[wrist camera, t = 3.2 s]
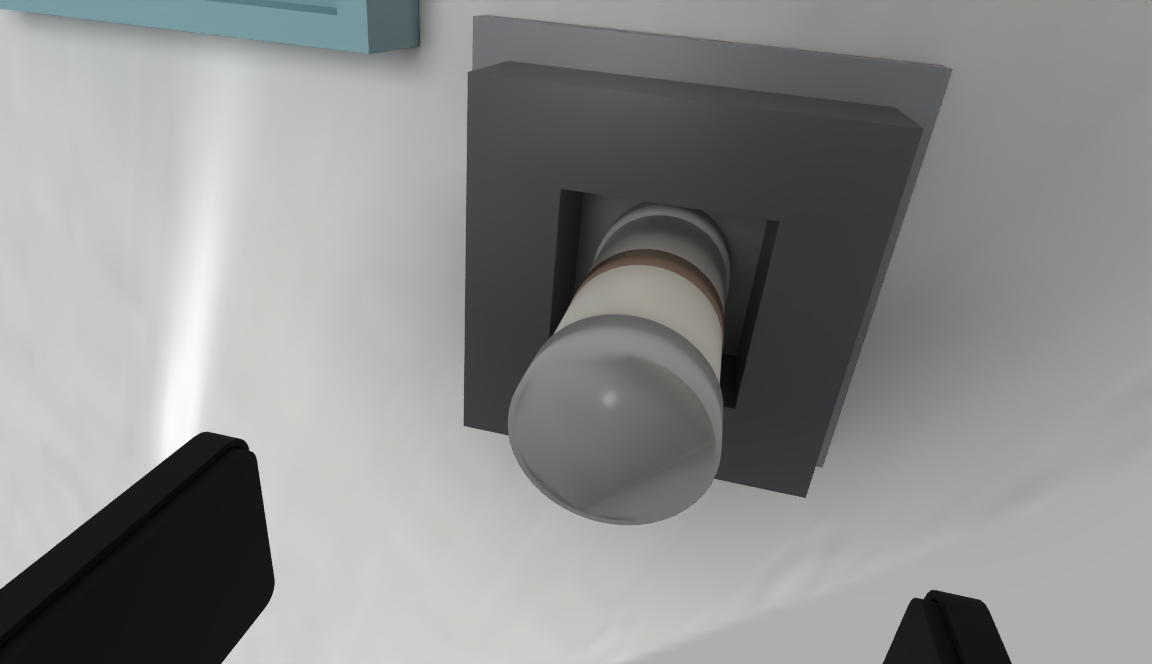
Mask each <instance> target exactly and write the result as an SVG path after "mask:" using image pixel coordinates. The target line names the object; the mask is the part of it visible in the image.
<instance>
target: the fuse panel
mask: <svg viewBox="0 0 1152 664" xmlns="http://www.w3.org/2000/svg"><path fill="white" fill-rule="evenodd" d="M951 72H952V69H950V68H948V67H945V66H942V65H934V64H925V63H916V62H907V61H897V60H888V59H879V58H870V57H861V56H852V55H843V54H834V53H825V52H816V51H807V50H797V49H788V48H779V47H770V46H761V45H752V44H743V43H734V42H725V41H716V40H707V39H697V38H688V37H679V36H670V35H661V34H652V33H643V32H634V31H625V30H616V29H607V28H597V27H588V26H579V25H570V24H561V23H552V22H543V21H534V20H525V19H516V18H507V17H497V16H488V15H483V16H473V71H469V72H468V113H467V196H466V279H465V362H464V426H467V427H472V428H476V429H481V430H486V431H491V432H495V433H500V434H505V435H509V433H508V414H509V407H510V404H511V400H512V397H513V395H514V393H515V391H516V389H517V387H518V385H519V383H520V382H521V380H522V378H523V376H524V375H525V373H526V371H527V369H528V368H529V366H530V364H531V363H532V361H533V359H534V357H535V356H536V354H537V353H538V351H539V350H540V348H541V347H542V345H543V344H544V343H545V342H546V341H547V340H548V339H549V338H550V337H551V336H553V334H554V333H555V331H556V329H557V327H558V326H559V324H560V322H561V320H562V318H563V317H564V315H565V313H566V311H567V310H568V307H569V305H570V303H571V301H572V299H573V297H574V295H575V294H576V292H577V290H578V288H579V287H580V285H581V283H582V282H583V280H584V279H585V277H586V276H587V274H588V272H589V271H590V269H591V267H592V265H593V263H594V259H595V255H596V252H597V250H598V248H599V246H600V244H601V242H602V240H603V239H604V237H605V235H606V233H607V232H608V230H609V228H610V227H611V226H612V224H613V223H614V222H615V221H616V219H617V218H618V217H619V216H621V215H622V214H623V213H624V212H625V211H627V210H629V209H630V208H632V207H634V206H636V205H638V204H640V203H644V202H652V203H659V204H665V205H672V206H679V207H685V208H692V209H699V210H702V211H703V212H705V213H706V214H708V215H709V216H710V217H711V218H712V219H713V220H714V221H715V222H716V223H717V225H718V226H719V227H720V229H721V230H722V232H723V233H724V235H725V238H726V240H727V242H728V246H729V249H730V256H731V272H730V285H729V291H728V294H727V298H726V300H725V308H724V338H723V349H722V355H721V371H720V388H721V392H722V398H723V430H722V449H721V457H720V464H719V467H718V470H717V473H716V475H715V477H714V479H718V480H723V481H728V482H733V483H737V484H742V485H747V486H752V487H756V488H761V489H766V490H771V491H775V492H780V493H785V494H790V495H794V496H799V497H804V498H806V495H807V492H808V489H809V485H810V482H811V479H812V476H813V473H814V470H815V467H816V466H818V467H823V464H824V461H825V458H826V455H827V452H828V449H829V446H830V443H831V440H832V437H833V434H834V430H835V427H836V424H837V421H838V418H839V415H840V412H841V409H842V406H843V403H844V400H845V397H846V394H847V391H848V388H849V384H850V381H851V378H852V375H853V372H854V369H855V366H856V363H857V360H858V357H859V354H860V351H861V348H862V345H863V342H864V339H865V335H866V332H867V329H868V326H869V323H870V320H871V317H872V314H873V311H874V308H875V305H876V302H877V299H878V296H879V293H880V289H881V286H882V283H883V280H884V277H885V274H886V271H887V268H888V265H889V262H890V259H891V256H892V253H893V250H894V247H895V244H896V240H897V237H898V234H899V231H900V228H901V225H902V222H903V219H904V216H905V213H906V210H907V207H908V204H909V201H910V198H911V195H912V191H913V188H914V185H915V182H916V179H917V176H918V173H919V170H920V167H921V164H922V161H923V158H924V155H925V152H926V149H927V145H928V142H929V139H930V136H931V133H932V130H933V127H934V124H935V121H936V118H937V115H938V112H939V109H940V106H941V103H942V100H943V96H944V93H945V90H946V87H947V84H948V81H949V78H950V75H951Z"/></svg>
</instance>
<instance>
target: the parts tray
mask: <svg viewBox="0 0 1152 664" xmlns="http://www.w3.org/2000/svg"><path fill="white" fill-rule="evenodd" d="M0 9H8V10H16V11H24V12H32V13H40V14H49V15H57V16H65V17H73V18H81V19H89V20H97V21H106V22H114V23H122V24H130V25H138V26H146V27H154V28H163V29H171V30H179V31H187V32H195V33H203V34H211V35H220V36H228V37H236V38H244V39H252V40H260V41H268V42H277V43H285V44H293V45H301V46H309V47H317V48H325V49H334V50H342V51H350V52H358V53H366V54H371V53H378V52H384V51H391V50H397V49H403V48H410V47H416V46H420V45H419V0H0Z"/></svg>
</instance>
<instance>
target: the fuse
mask: <svg viewBox="0 0 1152 664" xmlns="http://www.w3.org/2000/svg"><path fill="white" fill-rule="evenodd" d="M730 272H731V256H730V249H729V246H728V242H727V240H726V238H725V235H724V233H723V232H722V230H721V229H720V227H719V226H718V225H717V223H716V222H715V221H714V220H713V219H712V218H711V217H710V216H709V215H708V214H706V213H705V212H703V211H702V210H699V209H692V208H685V207H679V206H672V205H665V204H659V203H652V202H644V203H640V204H638V205H636V206H634V207H632V208H630V209H629V210H627V211H625V212H624V213H623V214H622V215H621V216H619V217H618V218H617V219H616V221H615V222H614V223H613V224H612V226H611V227H610V228H609V230H608V232H607V233H606V235H605V237H604V239H603V240H602V242H601V244H600V246H599V248H598V250H597V252H596V255H595V259H594V263H593V265H592V267H591V269H590V271H589V272H588V274H587V276H586V277H585V279H584V280H583V282H582V283H581V285H580V287H579V288H578V290H577V292H576V294H575V295H574V297H573V299H572V301H571V303H570V305H569V307H568V310H567V311H566V313H565V315H564V317H563V318H562V320H561V322H560V324H559V326H558V327H557V329H556V331H555V333H554V334H553V336H551V337H550V338H549V339H548V340H547V341H546V342H545V343H544V344H543V345H542V347H541V348H540V350H539V351H538V353H537V354H536V356H535V357H534V359H533V361H532V363H531V364H530V366H529V368H528V369H527V371H526V373H525V375H524V376H523V378H522V380H521V382H520V383H519V385H518V387H517V389H516V391H515V393H514V395H513V397H512V400H511V404H510V407H509V414H508V433H509V439H510V443H511V446H512V450H513V453H514V455H515V457H516V459H517V461H518V463H519V465H520V467H521V468H522V470H523V471H524V473H525V474H526V476H527V477H528V478H529V479H530V481H531V482H532V483H533V484H534V485H535V486H536V487H537V488H538V489H539V490H540V491H541V492H542V493H543V494H544V495H546V496H547V497H548V498H550V499H551V500H552V501H554V502H555V503H557V504H558V505H560V506H561V507H563V508H565V509H567V510H569V511H571V512H573V513H575V514H577V515H580V516H582V517H585V518H588V519H591V520H595V521H599V522H604V523H609V524H618V525H640V524H647V523H653V522H657V521H661V520H664V519H667V518H669V517H672V516H675V515H677V514H678V513H680V512H682V511H684V510H686V509H687V508H688V507H690V506H691V505H692V504H694V503H695V502H696V501H697V500H698V499H699V498H700V497H701V496H702V495H703V494H704V493H705V492H706V490H707V489H708V488H709V486H710V485H711V483H712V481H713V479H714V477H715V475H716V473H717V470H718V467H719V464H720V457H721V449H722V430H723V398H722V392H721V388H720V371H721V355H722V349H723V338H724V308H725V300H726V298H727V294H728V291H729V285H730Z"/></svg>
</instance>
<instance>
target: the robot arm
mask: <svg viewBox="0 0 1152 664" xmlns="http://www.w3.org/2000/svg"><path fill="white" fill-rule="evenodd" d="M274 585H275V579H274V573H273V566H272V559H271V552H270V546H269V539H268V532H267V525H266V519H265V512H264V505H263V498H262V491H261V485H260V478H259V471H258V464H257V459H256V456H255V454H254V453H253V452H251V451H249V447H248V444H247V443H246V442H245V441H244V440H242V439H239V438H234V437H229V436H225V435H220V434H216V433H211V432H203V433H200V434H198V435H196V436H195V437H193V438H192V439H191V440H190V441H188V442H187V443H186V444H185V445H183V446H182V447H181V448H179V449H178V450H177V451H176V452H174V453H173V454H172V455H171V456H169V457H168V458H167V459H165V460H164V461H163V462H162V463H160V464H159V465H158V466H157V467H155V468H154V469H153V470H151V471H150V472H149V473H148V474H146V475H145V476H144V477H143V478H141V479H140V480H139V481H137V482H136V483H135V484H134V485H132V486H131V487H130V488H129V489H127V490H126V491H125V492H123V493H122V494H121V495H120V496H118V497H117V498H116V499H115V500H113V501H112V502H111V503H109V504H108V505H107V506H106V507H104V508H103V509H102V510H101V511H99V512H98V513H97V514H96V515H94V516H93V517H92V518H90V519H89V520H88V521H87V522H85V523H84V524H83V525H82V526H80V527H79V528H78V529H76V530H75V531H74V532H73V533H71V534H70V535H69V536H68V537H66V538H65V539H64V540H62V541H61V542H60V543H59V544H57V545H56V546H55V547H54V548H52V549H51V550H50V551H48V552H47V553H46V554H45V555H43V556H42V557H41V558H40V559H38V560H37V561H36V562H34V563H33V564H32V565H31V566H29V567H28V568H27V569H26V570H24V571H23V572H22V573H20V574H19V575H18V576H17V577H15V578H14V579H13V580H12V581H10V582H9V583H8V584H6V585H5V586H4V587H3V588H1V589H0V664H221V663H222V662H223V661H224V659H225V658H226V657H227V656H228V654H229V653H230V652H231V650H232V649H233V648H234V647H235V645H236V644H237V643H238V642H239V640H240V639H241V638H242V637H243V635H244V634H245V633H246V631H247V630H248V629H249V628H250V626H251V625H252V624H253V623H254V621H255V620H256V619H257V617H258V616H259V615H260V614H261V612H262V611H263V610H264V609H265V607H266V606H267V604H268V603H269V601H270V599H271V596H272V594H273V591H274ZM883 664H1012V663H1011V661H1010V659H1009V656H1008V654H1007V652H1006V649H1005V647H1004V644H1003V642H1002V640H1001V638H1000V635H999V633H998V630H997V628H996V626H995V623H994V621H993V619H992V616H991V614H990V612H989V610H988V608H987V606H986V605H985V604H984V603H983V602H982V601H981V600H978V599H974V598H969V597H964V596H960V595H955V594H951V593H946V592H941V591H937V590H931V591H930V592H928V593H927V595H926V596H925V598H924V599H919V598H913V599H912V600H911V602H910V603H909V605H908V607H907V610H906V612H905V614H904V617H903V619H902V621H901V623H900V626H899V628H898V630H897V632H896V635H895V637H894V640H893V642H892V644H891V646H890V649H889V651H888V653H887V655H886V658H885V660H884V662H883Z"/></svg>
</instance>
